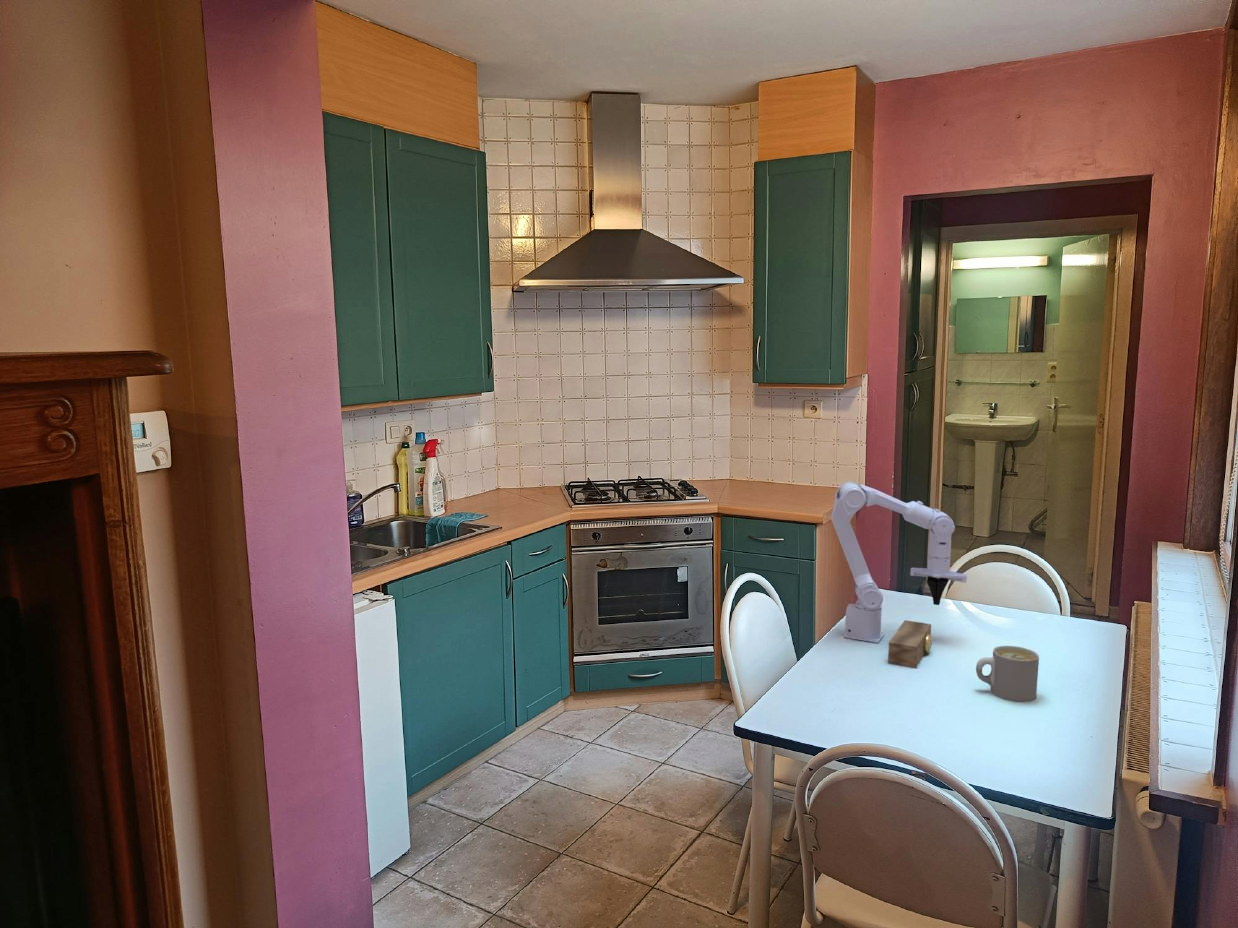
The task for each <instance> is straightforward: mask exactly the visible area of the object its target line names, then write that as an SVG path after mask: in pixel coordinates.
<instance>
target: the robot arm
mask: <svg viewBox="0 0 1238 928" xmlns="http://www.w3.org/2000/svg"><path fill="white" fill-rule="evenodd" d="M833 503H834V504H833V507H832V512H831V515H830V518H831V523H832V525H833V528H834V530H835V533H836V535H837V537H838V539H839V541H838V542H839V543H840V545H841V548H842V550H843V553H844V557H845V558H846V562H847V564H848V567H849V569H850V571H851V574H852V576H853V579H854V584H855V587H854V588H855V589H854V591H855V594H856V597H858V598H857V600H856V601H855V602H854V603H848V604H847V607H846V610H845V623H844V624H845V625H844V628H845V629H844V635H843V636H844V638H847V639H852V640H859V641H864V642H871V643H874V644H875V643H876V644H878V643H880V641H881V640H882V639H883V637H884V636H885V632H881V629H882V613H883V611H882V610H883V609H882V608H883V606H882V604H883V602H884V597H883V593H882V591H880V590H879V587H878V585H877V583H876V582H875V581H874V579H873V578H872V576H871V573H870V570H869V567H868V565H867V562H866V560H865V557H864V554H863V552H862V549H861V546H860V545H859V541H858V539H857V537H856V534H855V532H854V528H853V526H852V524H851V521H852V519H853V517H854V516H855V514H856V513H857V512H858V511H859V510H860V509H861V508H862V507H864V505H865V506H866V507H871V506H875V505H878V506H880V507H883V508H886V509H888V510H891V511H893V512H895V513H899V514H901V515H902V516H903V519H904V520H905V521H906V522H909V523H911V524H913V525H916V526H918V527H920V528H923V529H925V530H929V539H928V554H927V555H928V556H927V568H924V567H911V568H910V573H909V574H910V576H911V577H923V578H927V579H926V584H927V585H928V588H929V590H930V594H931V596H932V602H933V605H934V606H935V605H936V606H940V604H941V598H942V595H943V593H944V591H945V589H946V587H947V585H948V583H949V581H954V582H961V583H963V584H966V583H967V580H968V574H966V573H960V572H956V571H950V570H951V569H950V568H951V555H952V554H951V553H952V534H953V533H954V532H955V529H956V526H955V523H954V520H953V519H952V518H951V517H950V516H949V515H948V514H947V513H945V512H943V511H942V510H940V509H938V508H934V509H933V508H931V507H929V506H926V505H924V503H923V502H922V501H920V500H917V501H914V500H911V501H910V502H905V501H902V500H900V499H898V498H896V497H893V496H891V495H889V494H887V493H884V492H882V491H881V490H877V489H875V488H873V487H869V486H867V485H863V484H860V485H859V484H858V483H857V482H854V481H845V482H844V483H842V484H841V485H840V487H839V488H838V489H837V491H836V492H835V496H834V502H833Z"/></svg>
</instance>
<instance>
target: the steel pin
mask: <svg viewBox="0 0 1238 928" xmlns="http://www.w3.org/2000/svg"><path fill="white" fill-rule="evenodd" d="M893 634H894V635H895V633H893ZM894 635H893V636H894ZM932 640H933V639H932V634H931V635H929V634H926V635H925V638H924V646H923V650H924V652H925V653H928V654H929V653H930V652H931V647H932Z"/></svg>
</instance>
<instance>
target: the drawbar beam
mask: <svg viewBox="0 0 1238 928" xmlns="http://www.w3.org/2000/svg"><path fill="white" fill-rule="evenodd" d="M931 633H932V624H931V623H925V622H920V621H919V622H918V621H912V620H907V619H905V620H904V621H903V622H902V623H901V625H900V627H899V628H898V629H897V630H896V631H895V633H894V634H895V635H892V637H891V639H890V640H889V641H888V653H887V663H888V664H891V665H897V666H898V665H899V666H904V667H907V668H913V669H917V668H918V665H919V664H920V662H921V660H922V658H923V656H924V655H925V653H926V652H924V650H923V646H924V638H925V635H926V634H929V635H931V636H932V634H931Z"/></svg>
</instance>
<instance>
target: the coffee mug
mask: <svg viewBox="0 0 1238 928" xmlns="http://www.w3.org/2000/svg"><path fill="white" fill-rule="evenodd" d="M1039 660H1040V655H1039V654H1038V653H1037V652H1036V651H1034V650H1031V649H1029V648H1026V647H1022V646H1015V645H998V646H996V647H994V648H993V650H992V657H991V656H990V657H988V656H987V657H982V658H980V659H978V661H977V663H976V665H975V666H976V667H975V670H976V671H975V672H976V676H977V678H978V679H979V680H980V681H982V682H983V683H986V684H988V685H989V686H990V692H991V694H992V695H994V696H996V697H998V698H999V699H1003V700H1006V701H1011V702H1016V703H1018V702H1019V703H1026V702H1031V701H1034V700H1036V698H1037V691H1038V690H1037V689H1038V677H1039V674H1038V673H1039V663H1040V661H1039ZM986 665H990V667H991V669H990V673H989V674H987V675H984V674H983V668H984V667H985V666H986Z"/></svg>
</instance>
